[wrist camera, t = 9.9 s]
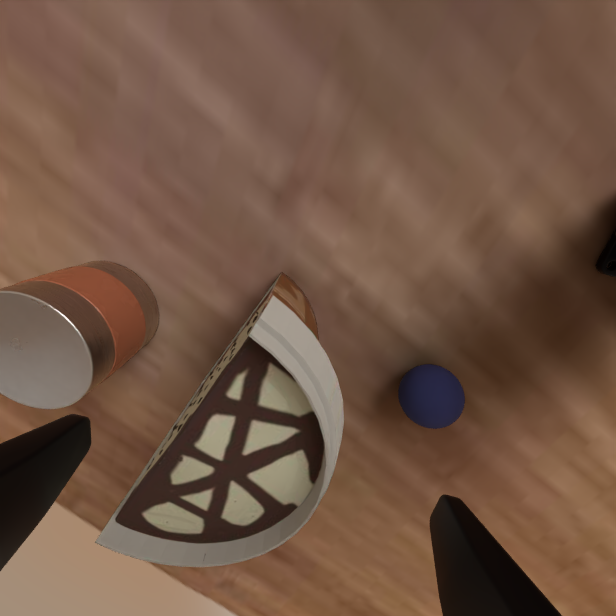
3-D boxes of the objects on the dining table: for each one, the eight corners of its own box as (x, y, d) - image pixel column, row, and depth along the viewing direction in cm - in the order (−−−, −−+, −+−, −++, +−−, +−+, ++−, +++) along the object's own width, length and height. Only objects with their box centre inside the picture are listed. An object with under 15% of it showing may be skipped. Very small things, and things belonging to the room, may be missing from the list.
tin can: (162, 272, 19) (92, 308, 13) (157, 360, 21) (95, 422, 15) (61, 249, 19) (-54, 275, 13) (66, 339, 21) (-30, 395, 15)
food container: (266, 439, 23) (222, 615, 13) (192, 394, 22) (89, 549, 12) (380, 313, 19) (431, 436, 9) (296, 250, 18) (259, 319, 8)
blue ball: (460, 360, 20) (487, 396, 16) (438, 407, 21) (460, 449, 17) (403, 347, 19) (419, 380, 16) (386, 395, 21) (396, 434, 17)
